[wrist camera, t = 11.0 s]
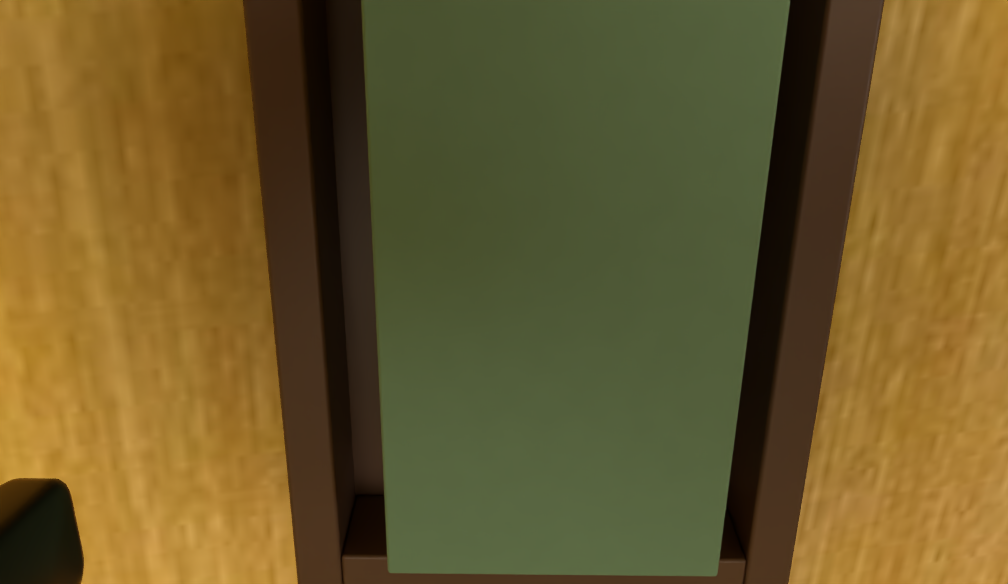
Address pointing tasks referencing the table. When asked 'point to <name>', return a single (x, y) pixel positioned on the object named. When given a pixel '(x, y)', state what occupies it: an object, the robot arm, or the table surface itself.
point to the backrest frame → (351, 293)
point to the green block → (564, 274)
